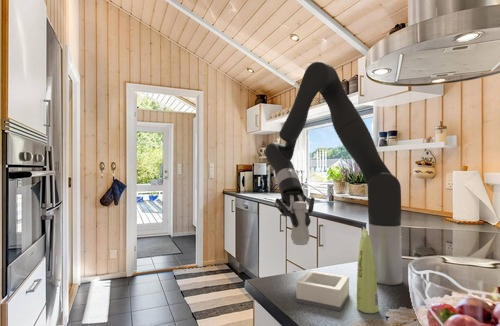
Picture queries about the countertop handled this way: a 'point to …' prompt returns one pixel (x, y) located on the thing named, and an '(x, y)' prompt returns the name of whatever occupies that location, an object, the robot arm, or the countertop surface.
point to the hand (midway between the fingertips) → (302, 225)
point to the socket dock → (323, 290)
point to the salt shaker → (300, 225)
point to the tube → (366, 276)
